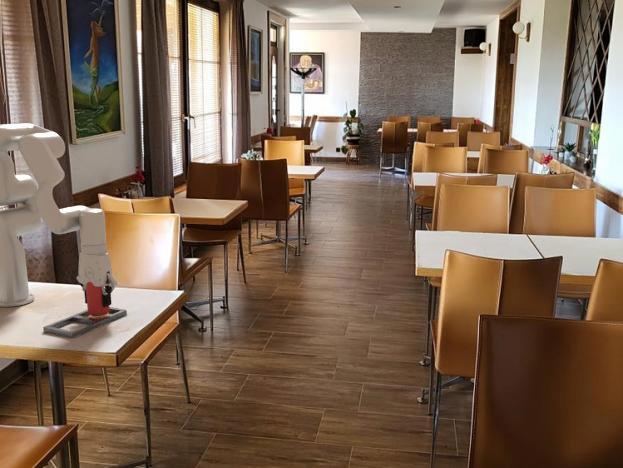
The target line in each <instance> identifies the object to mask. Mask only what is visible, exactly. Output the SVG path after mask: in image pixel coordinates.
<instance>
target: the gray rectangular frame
mask: <svg viewBox="0 0 623 468" xmlns="http://www.w3.org/2000/svg"><path fill="white" fill-rule="evenodd" d="M127 314H128V311H127V309H123V308H118V307H112V306H110V312H109V313H108V314H106V315H103V316H91V315H89V314H88V309H86V310H83V311H81V312H79V313H76V314H73V315H71V316H68V317H66V318H65V317H64V318H63V319H60V320H57V321H55V322H53V323H50V324H47V325H46V326H43V329H42V330H43V331H42V332H43V333H47V334H51V335H56V336H60V337H66V338H69V339H74V338H76V337H79V336H81V335H83V334H86V333H88V332H91V331H93V330H95V329H97V328H99V327H102V326H104V325H106V324H109V323H111V322H113V321H115V320H118V319H120V318H123V317H124V316H126V315H127ZM71 323H79V324H83V325H84V326H82V327H80V328H77V329H74V330H68V329H63V328H61V327H64V326H66V325H68V324H71Z"/></svg>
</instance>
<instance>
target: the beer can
mask: <svg viewBox="0 0 623 468" xmlns="http://www.w3.org/2000/svg"><path fill="white" fill-rule="evenodd" d="M89 280H90V279H89ZM106 284H107V283H106ZM105 288H106V289H107V286H105ZM86 295H87V305H86V306H87V310H88V314H89V316H103V315H106V314H110V313H109V312H110V307H111V305H109V306H107V307H103V304H102V295H103V292H102V289H101V287H96V286H94V285H93V284H92V282H87V284H86Z"/></svg>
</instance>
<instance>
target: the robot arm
mask: <svg viewBox="0 0 623 468" xmlns="http://www.w3.org/2000/svg"><path fill="white" fill-rule="evenodd" d="M12 151H19V152H20V154H21V156H22V158H23V159H24V162H25V163H26V165H27V168H29V170H30V172H31V174H32V176H33V177H32V176H30V175H28V174H21V173H20V174H16V172H15V163H14V161H13V159H12V157H11V156H10V155H9V154H8V153H7V152H12ZM65 152H66V145H65V142H64V140H63V138H62V136H60V135H59V134H58V133H57V132H55V131H53V130H49V129H46V128H44V127H42V126H39V125H36V124H33V123H26V122H25V123H3V124H1V123H0V207H3V206H4V207H5V206H11V205H17V206H16V207H11V208H6V209H1V210H0V307H1V308H10V307H18V306H24V305H27V304H29V303H32V302H33V301H35V295H34V293H30V291H29V290H30V289H29V281H28V278H29V277H28V270H27V259H26V251H25V248H24V245H23V244H22V243H21V241H20V240H19V239H18V237H20V236H25V235H29V234H33V233H35V232H37V231H39V229H40V228H41V223H42V220H43V223H44V224H45V226H46V227H47V229H48V230H49V231H50V232H51V233H53V234H55V235H63V234H64V235H65V234H67V233H72V232H77V231H79V236H80V237H79V238H80V244H79V245H80V251H81V252H80V253H79V258H78V275H77V276H76V280H77V281H78V283H79V285H80V287H81V288H82V291H83V292H84V294H83V295H84V303H85V304H87V295H86V284H87V282H92V284H93V285H94V286H96V287H101V289H102V292H103V295H102V304H103V307H107V306H111V305H112V293H113V291H114V290H115V288H116V286H117V285H118V282H117V281H116V279H115V278H114V277H113V271H112V270H113V269H112V268H113V267H112V263H111V258H110V255H109V252H108V243H107V241H108V240H107V228H106V227H107V226H106V216H105V214H106V213H105V212H104V210H103V209H101V208H97V207H95V208H93V207H92V208H91V207H88V206H85V205H74V206H68V207H64V208H59V207H58V205H57V204H56V202H55V199H54V195H53V190H54V188H55V186H57V185H58V184H59V183H61V182H62V181H63V180H64V179H65V176H66V175H65V171H64V170H63V168H62V166H61V164H60V162H59V160H58V159H59V158H62V156H63V155H64V154H65ZM89 279H90V280H89ZM106 283H107V284H106ZM105 286H107V289H106V288H105Z"/></svg>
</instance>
